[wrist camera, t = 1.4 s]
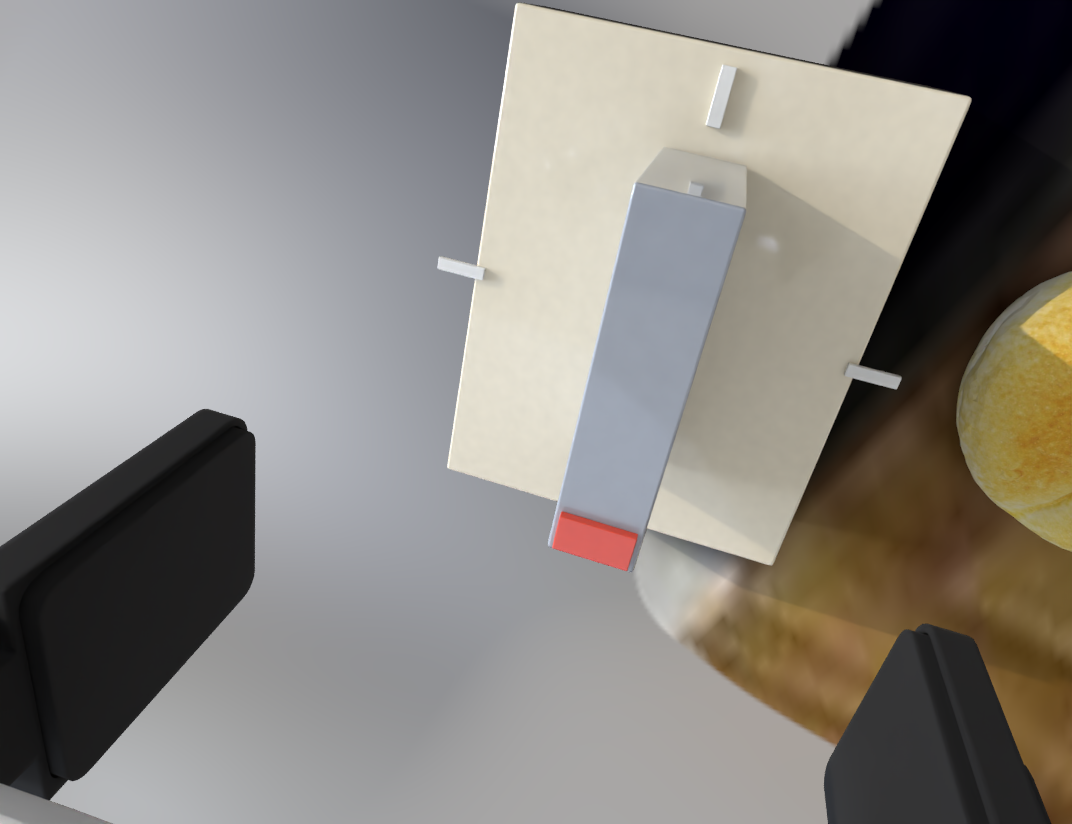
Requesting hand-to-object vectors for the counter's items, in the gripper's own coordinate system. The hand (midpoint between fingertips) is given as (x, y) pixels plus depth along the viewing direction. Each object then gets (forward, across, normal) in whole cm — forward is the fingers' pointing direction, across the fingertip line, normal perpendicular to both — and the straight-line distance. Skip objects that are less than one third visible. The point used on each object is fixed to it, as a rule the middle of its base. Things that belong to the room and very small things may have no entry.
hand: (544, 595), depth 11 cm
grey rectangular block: (+12, 0, 0) cm, 12 cm away
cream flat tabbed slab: (+15, 0, 0) cm, 15 cm away
